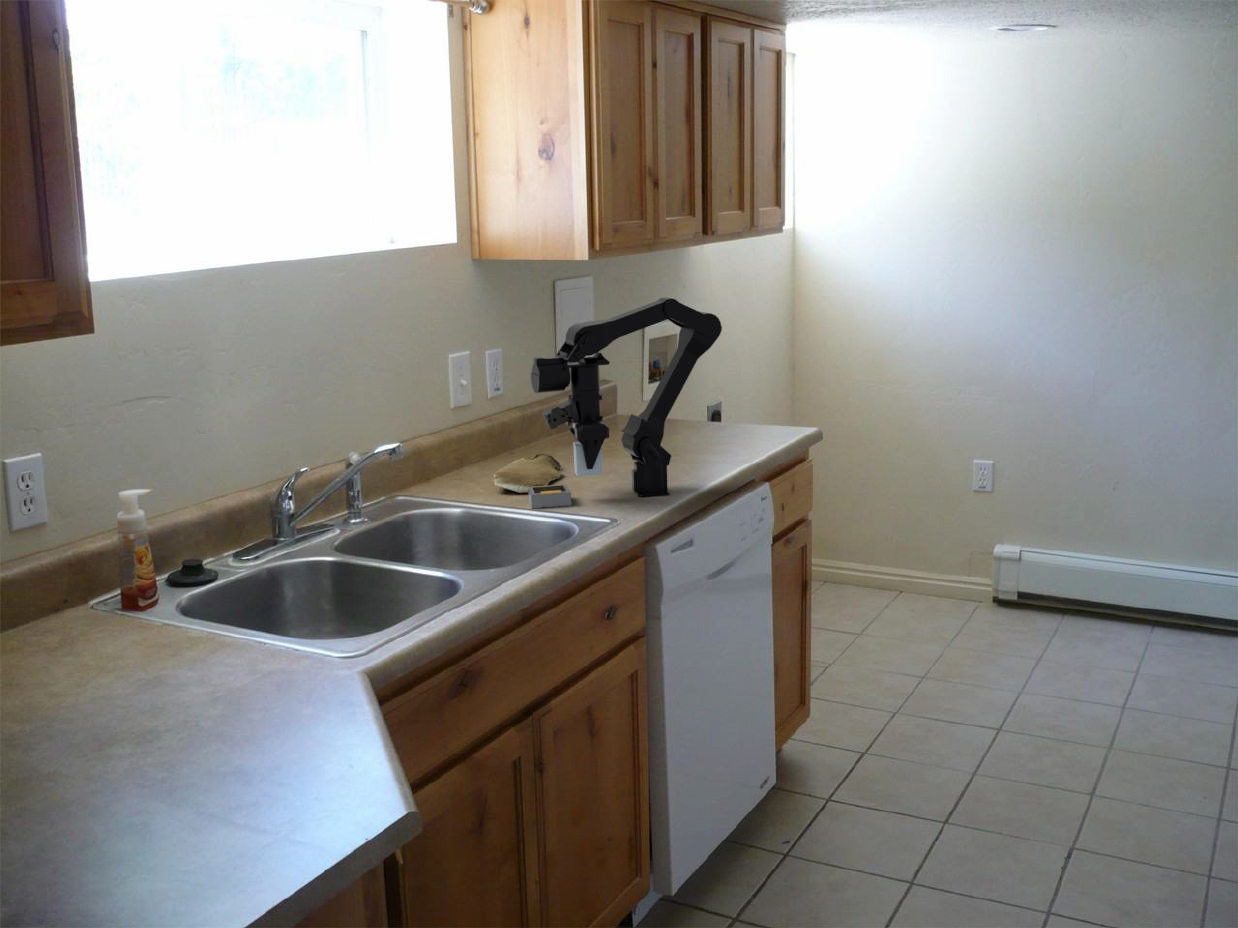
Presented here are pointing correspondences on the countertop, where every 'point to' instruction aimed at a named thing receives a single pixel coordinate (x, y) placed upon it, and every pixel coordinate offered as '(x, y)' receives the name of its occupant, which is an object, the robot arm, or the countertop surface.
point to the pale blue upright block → (581, 464)
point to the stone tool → (528, 473)
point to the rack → (549, 496)
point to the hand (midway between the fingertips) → (588, 466)
